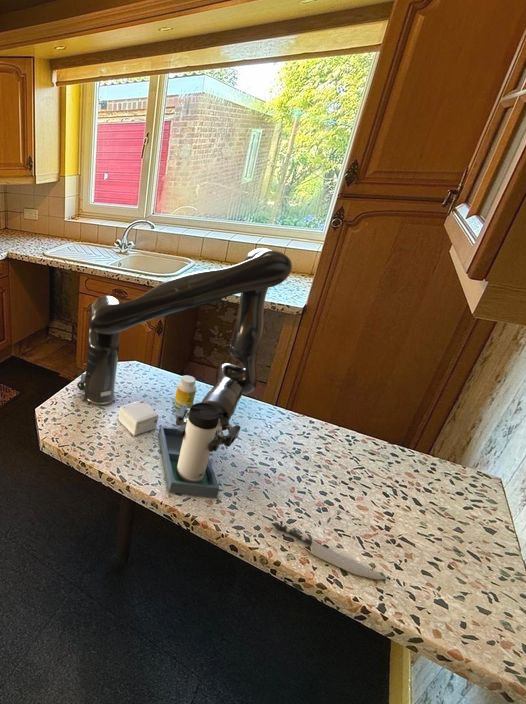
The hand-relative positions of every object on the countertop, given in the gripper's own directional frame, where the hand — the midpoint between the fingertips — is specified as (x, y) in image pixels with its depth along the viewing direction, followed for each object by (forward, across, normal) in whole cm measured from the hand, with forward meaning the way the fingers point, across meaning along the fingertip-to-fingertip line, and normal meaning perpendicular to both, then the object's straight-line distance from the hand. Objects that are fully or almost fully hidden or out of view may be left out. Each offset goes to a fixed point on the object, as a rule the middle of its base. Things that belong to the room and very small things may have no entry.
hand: (195, 441), depth 90 cm
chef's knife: (+1, +28, +13) cm, 31 cm away
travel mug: (-2, 0, +12) cm, 12 cm away
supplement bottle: (-30, -12, +14) cm, 35 cm away
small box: (-13, -19, +13) cm, 26 cm away
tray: (-6, -3, +13) cm, 15 cm away
